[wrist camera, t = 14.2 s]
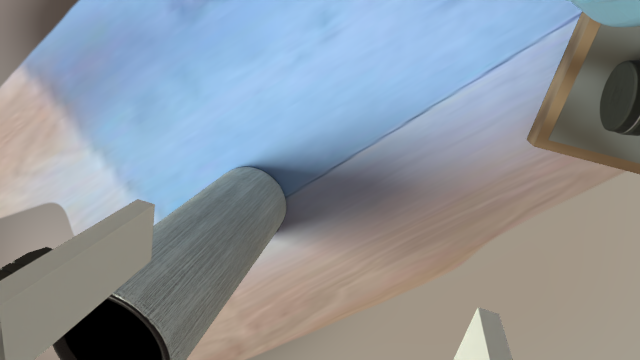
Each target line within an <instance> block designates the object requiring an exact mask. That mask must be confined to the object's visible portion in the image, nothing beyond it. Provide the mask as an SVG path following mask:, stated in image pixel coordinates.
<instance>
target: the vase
mask: <svg viewBox="0 0 640 360" xmlns="http://www.w3.org/2000/svg"><path fill="white" fill-rule="evenodd" d="M285 214H286V199H285V196H284V193H283V191H282V189H281V187H280V186H279V184H278V183H277V182H276V181H275V180H274V179H273V178H272V177H271V176H270V175H268V174H267V173H265V172H264V171H262V170H259V169H256V168H252V167H240V168H236V169H233V170H231V171H229V172H227V173H226V174H224V175H223V176H221V177H220V178H218V179H217V180H216V181H214V182H213V183H212V184H210V185H209V186H208V187H206V188H205V189H203V190H202V191H201V192H199V193H198V194H197V195H195V196H194V197H193V198H191V199H190V200H188V201H187V202H186V203H184V204H183V205H182V206H180V207H179V208H178V209H176V210H175V211H173V212H172V213H171V214H169V215H168V216H167V217H165V218H164V219H163V220H161V221H160V222H158V223H157V224H156V225H154V226H153V239H152V254H151V261H150V262H149V263H147V264H146V265H145V266H144V267H143V268H142V269H140V270H139V271H138V272H137V273H136V274H135V275H133V276H132V277H131V278H130V279H129V280H128V281H126V282H125V283H124V284H123V285H122V286H121V287H119V288H118V289H117V290H116V291H115V292H113V293H112V294H111V295H110V296H109V297H108V298H106V299H105V300H104V301H103V302H102V303H101V304H99V305H98V306H97V307H96V308H95V309H94V310H92V311H91V312H90V313H89V314H88V315H87V316H85V317H84V318H83V319H82V320H81V321H80V322H78V323H77V324H76V325H75V326H74V327H73V328H71V329H70V330H69V331H68V332H67V333H66V334H64V335H63V336H62V337H61V338H60V339H59V340H57V341H56V342H55V343H54V344H53V347H54V350H55V351H56V353H57V355H58V357H59V358H60V360H186V359H187V358H188V356H189V355H190V353H191V352H192V351H193V349H194V348H195V346H196V345H197V343H198V342H199V341H200V339H201V338H202V336H203V335H204V334H205V332H206V331H207V329H208V328H209V326H210V325H211V324H212V322H213V321H214V319H215V318H216V317H217V315H218V314H219V312H220V311H221V309H222V308H223V307H224V305H225V304H226V302H227V301H228V300H229V298H230V297H231V295H232V294H233V292H234V291H235V290H236V288H237V287H238V285H239V284H240V283H241V281H242V280H243V278H244V277H245V275H246V274H247V273H248V271H249V270H250V268H251V267H252V266H253V264H254V263H255V261H256V260H257V258H258V257H259V256H260V254H261V253H262V251H263V250H264V249H265V247H266V246H267V244H268V243H269V241H270V240H271V239H272V237H273V236H274V234H275V233H276V232H277V230H278V229H279V227H280V225H281V224H282V222H283V220H284V218H285Z"/></svg>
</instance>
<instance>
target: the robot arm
mask: <svg viewBox="0 0 640 360" xmlns="http://www.w3.org/2000/svg"><path fill="white" fill-rule="evenodd" d="M567 1H571V2H572V3H573V4H574V5H575V6H577V7H578V8H579V9H580V10H581V11H583V12H584V13H585V14H586V15H588V16H589V17H590V18H591V19H593V20H594V21H596V22H598V23H601V24H603V25H606V26H611V27H635V26H640V0H567ZM154 207H155V204H152V203H148V202H145V201H142V200H139V199H137V200H136V201H134V202H132V203H130V204H129V205H127V206H125V207H124V208H122V209H120V210H119V211H117V212H115V213H114V214H112V215H110V216H109V217H107V218H105V219H104V220H102V221H100V222H98V223H97V224H95V225H93V226H92V227H90V228H88V229H87V230H85V231H83V232H82V233H80V234H78V235H77V236H75V237H73V238H72V239H70V240H68V241H67V242H65V243H63V244H61V245H60V246H58V247H56V248H55V249H51V248H48V247H45V248H42V249H39V250H36V251H33V252H29V253H27V254H25V255H23V256H22V257H20V258H18V259H16V260H15V261H13V263H12V264H11V263H9V264H8V265H6V266H4V267H2V268H1V269H0V360H35V359H36V358H37V357H39V356H40V355H41V354H42V353H43V352H44V351H46V350H47V349H48V348H49V347H50V346H51V345H53V344H54V343H55V342H56V341H57V340H59V339H60V338H61V337H62V336H63V335H64V334H66V333H67V332H68V331H69V330H70V329H71V328H73V327H74V326H75V325H76V324H77V323H78V322H80V321H81V320H82V319H83V318H84V317H85V316H87V315H88V314H89V313H90V312H91V311H92V310H94V309H95V308H96V307H97V306H98V305H99V304H101V303H102V302H103V301H104V300H105V299H106V298H108V297H109V296H110V295H111V294H112V293H113V292H115V291H116V290H117V289H118V288H119V287H121V286H122V285H123V284H124V283H125V282H126V281H128V280H129V279H130V278H131V277H132V276H133V275H135V274H136V273H137V272H138V271H139V270H140V269H142V268H143V267H144V266H145V265H146V264H147V263H149V262H150V261H151V254H152V239H153V223H154ZM454 360H513V359H512V356H511V352H510V349H509V346H508V342H507V339H506V336H505V332H504V329H503V325H502V323H501V319H500V316H499V314H497V313H494V312H491V311H488V310H485V309H481V308H479V307H478V309H477V311H476V313H475V315H474V317H473V319H472V321H471V324H470V326H469V328H468V330H467V332H466V334H465V337H464V338H463V341H462V343H461V345H460V347H459V349H458V352H457V354H456V356H455V358H454Z"/></svg>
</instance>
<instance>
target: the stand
mask: <svg viewBox="0 0 640 360" xmlns="http://www.w3.org/2000/svg"><path fill="white" fill-rule="evenodd" d="M639 59H640V26H635V27H611V26H606V25H603V24H601V23H598V22H596V21H594V20H593V19H591V18H590V17H589V16H588V15H586V14H585V13H584V12H583V11H582V13H581V16H580V18H579V20H578V23H577V25H576V27H575V29H574V32H573V34H572V36H571V39H570V41H569V43H568V45H567V48H566V50H565V52H564V55H563V57H562V59H561V62H560V64H559V66H558V68H557V71H556V73H555V75H554V78H553V80H552V82H551V85H550V87H549V89H548V91H547V94H546V96H545V98H544V101H543V103H542V105H541V108H540V110H539V112H538V114H537V117H536V119H535V121H534V124H533V126H532V128H531V131H530V133H529V135H528V137H527V140H528V141H529V142H530V143H531V144H532V145H533V146H535V147H538V148H542V149H546V150H550V151H554V152H557V153H561V154H565V155H569V156H573V157H576V158H580V159H584V160H588V161H592V162H595V163H599V164H603V165H607V166H611V167H615V168H618V169H622V170H626V171H630V172H634V173H637V174H640V136H632V135H622V134H618V133H616V132H612V131H608V130H606V129H605V128H604V127H603V125H602V122H601V119H600V100H601V96H602V92H603V89H604V86H605V83H606V81H607V79H608V77H609V76H610V74H611V72H612V71H613V70H614V68H615V67H616V66H617V65H618V64H620V63H622V62H623V61H628V60H639Z"/></svg>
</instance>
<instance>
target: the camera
mask: <svg viewBox="0 0 640 360" xmlns="http://www.w3.org/2000/svg"><path fill="white" fill-rule="evenodd" d="M600 119H601V122H602V125H603V127H604V128H605V129H606V130H608V131H612V132H616V133H618V134H622V135H632V136H640V59H639V60H628V61H623V62H622V63H620V64H618V65H617V66H616V67H615V68H614V70H613V71H612V72H611V74H610V76H609V77H608V79H607V81H606V83H605V86H604V89H603V92H602V96H601V100H600Z"/></svg>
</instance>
